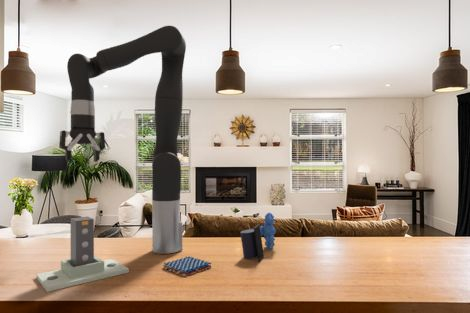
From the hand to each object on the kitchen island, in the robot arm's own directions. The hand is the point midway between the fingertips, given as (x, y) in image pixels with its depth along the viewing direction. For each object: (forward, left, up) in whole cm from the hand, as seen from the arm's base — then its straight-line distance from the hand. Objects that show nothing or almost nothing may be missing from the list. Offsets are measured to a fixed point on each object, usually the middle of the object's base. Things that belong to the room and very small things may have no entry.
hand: (83, 161), depth 114 cm
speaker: (-44, +38, -30) cm, 66 cm away
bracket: (+3, +27, -30) cm, 41 cm away
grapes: (-55, +31, -30) cm, 70 cm away
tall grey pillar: (+3, +26, -29) cm, 39 cm away
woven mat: (-23, +36, -31) cm, 53 cm away
